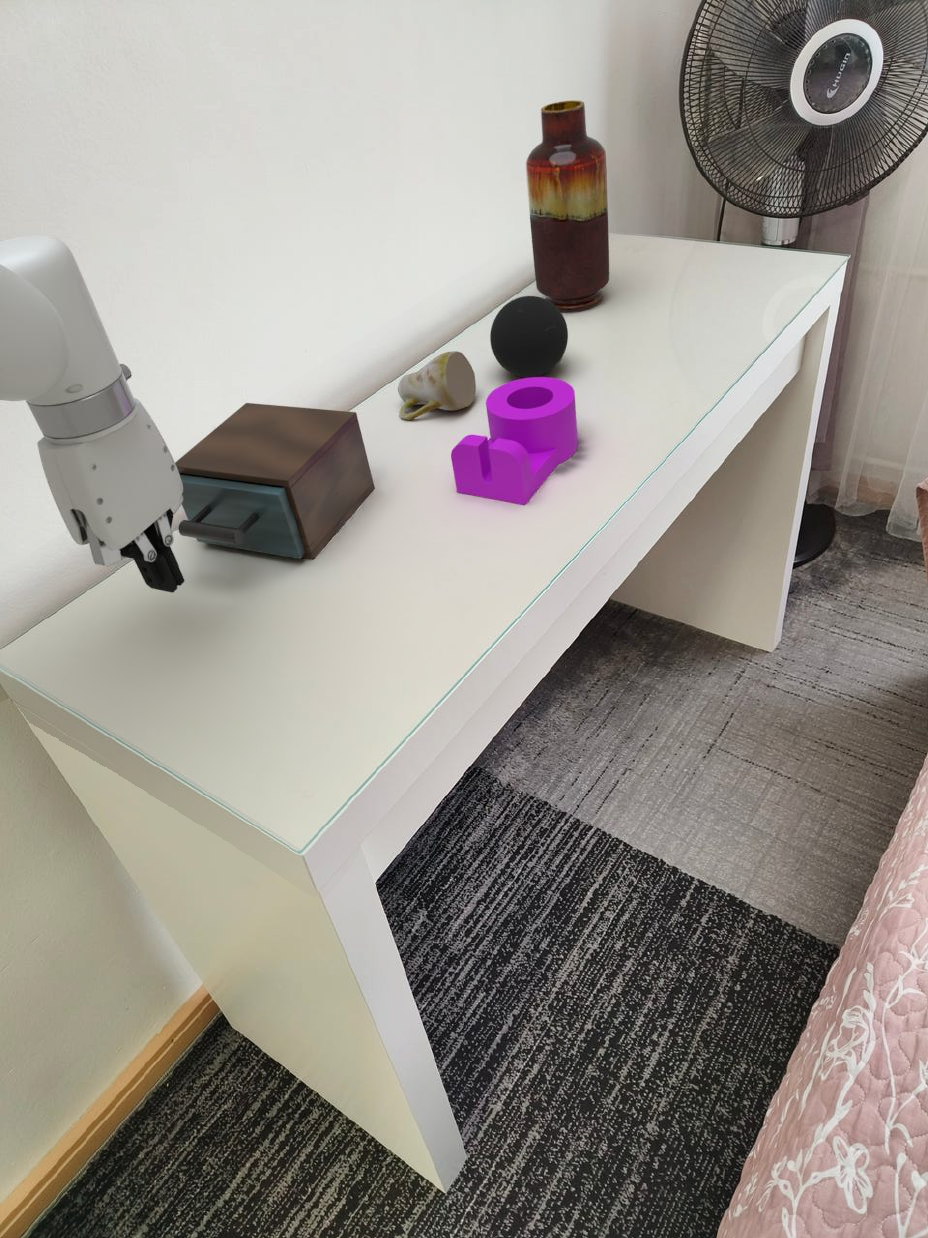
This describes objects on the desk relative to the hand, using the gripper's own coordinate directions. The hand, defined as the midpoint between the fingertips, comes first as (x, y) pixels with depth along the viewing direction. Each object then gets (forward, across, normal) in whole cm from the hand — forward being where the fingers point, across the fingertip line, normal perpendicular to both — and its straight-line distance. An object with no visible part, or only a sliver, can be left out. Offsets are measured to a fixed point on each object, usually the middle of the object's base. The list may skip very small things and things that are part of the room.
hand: (167, 584), depth 79 cm
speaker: (+4, -56, +15) cm, 58 cm away
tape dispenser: (+5, -35, +22) cm, 41 cm away
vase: (+4, -80, +13) cm, 81 cm away
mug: (+5, -45, +6) cm, 46 cm away
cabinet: (+5, -19, 0) cm, 20 cm away
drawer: (+4, -15, 0) cm, 16 cm away
